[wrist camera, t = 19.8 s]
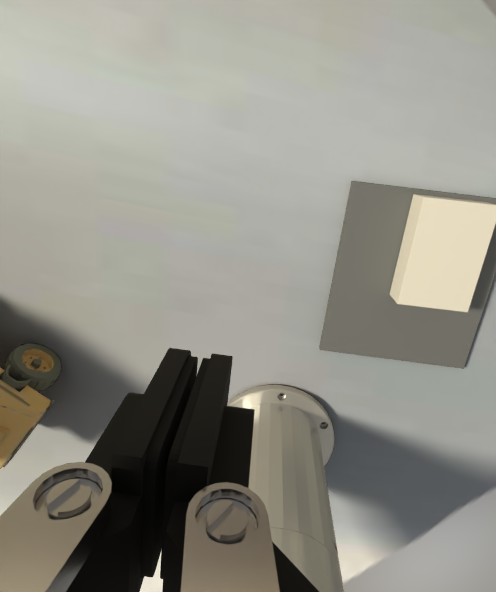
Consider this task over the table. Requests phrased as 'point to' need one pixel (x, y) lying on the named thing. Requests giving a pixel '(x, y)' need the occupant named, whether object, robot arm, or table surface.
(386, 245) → the mat
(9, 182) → the table surface
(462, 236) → the card box
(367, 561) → the table surface
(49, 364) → the toy car
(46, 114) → the table surface
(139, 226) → the table surface
